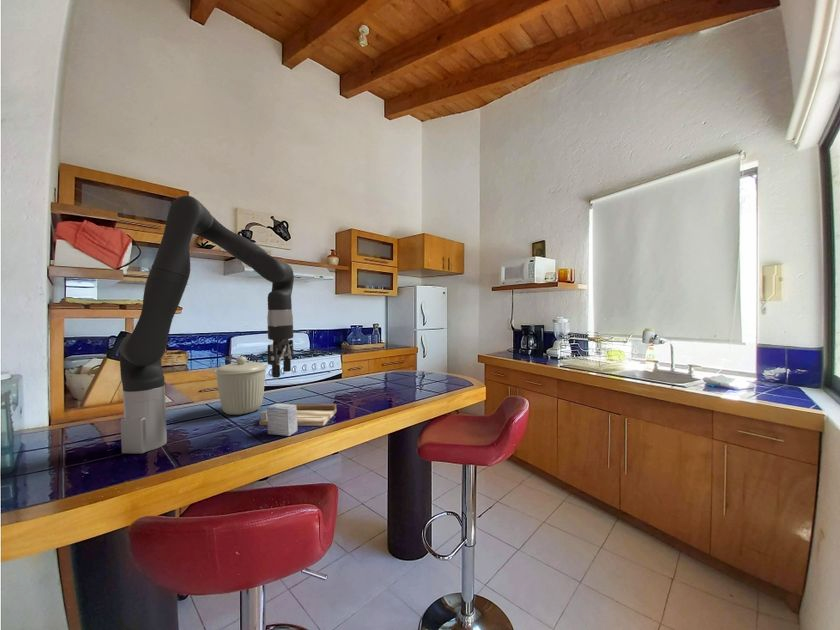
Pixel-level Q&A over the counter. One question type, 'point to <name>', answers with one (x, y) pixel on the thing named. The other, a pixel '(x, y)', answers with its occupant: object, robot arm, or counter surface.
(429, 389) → the counter surface
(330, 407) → the walnut fence
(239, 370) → the canister
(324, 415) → the maple board
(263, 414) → the end stop
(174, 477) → the counter surface
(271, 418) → the medicine box
